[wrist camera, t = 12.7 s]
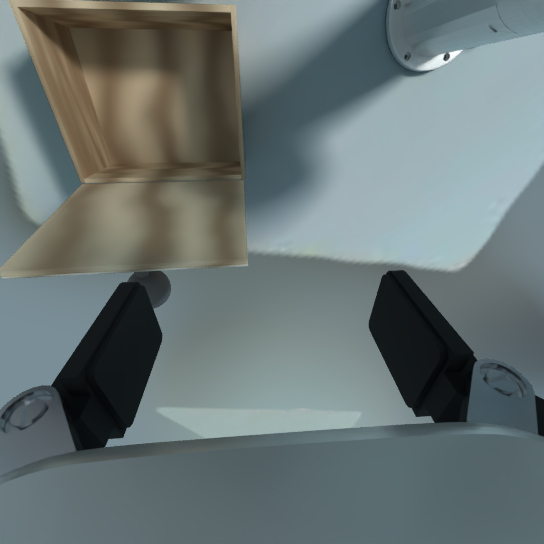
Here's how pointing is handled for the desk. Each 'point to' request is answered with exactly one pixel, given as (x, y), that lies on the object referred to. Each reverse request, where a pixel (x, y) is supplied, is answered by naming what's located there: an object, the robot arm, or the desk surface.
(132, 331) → the robot arm
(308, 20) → the desk surface
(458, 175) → the desk surface
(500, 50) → the desk surface
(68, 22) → the wooden box
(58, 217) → the wooden box lid
